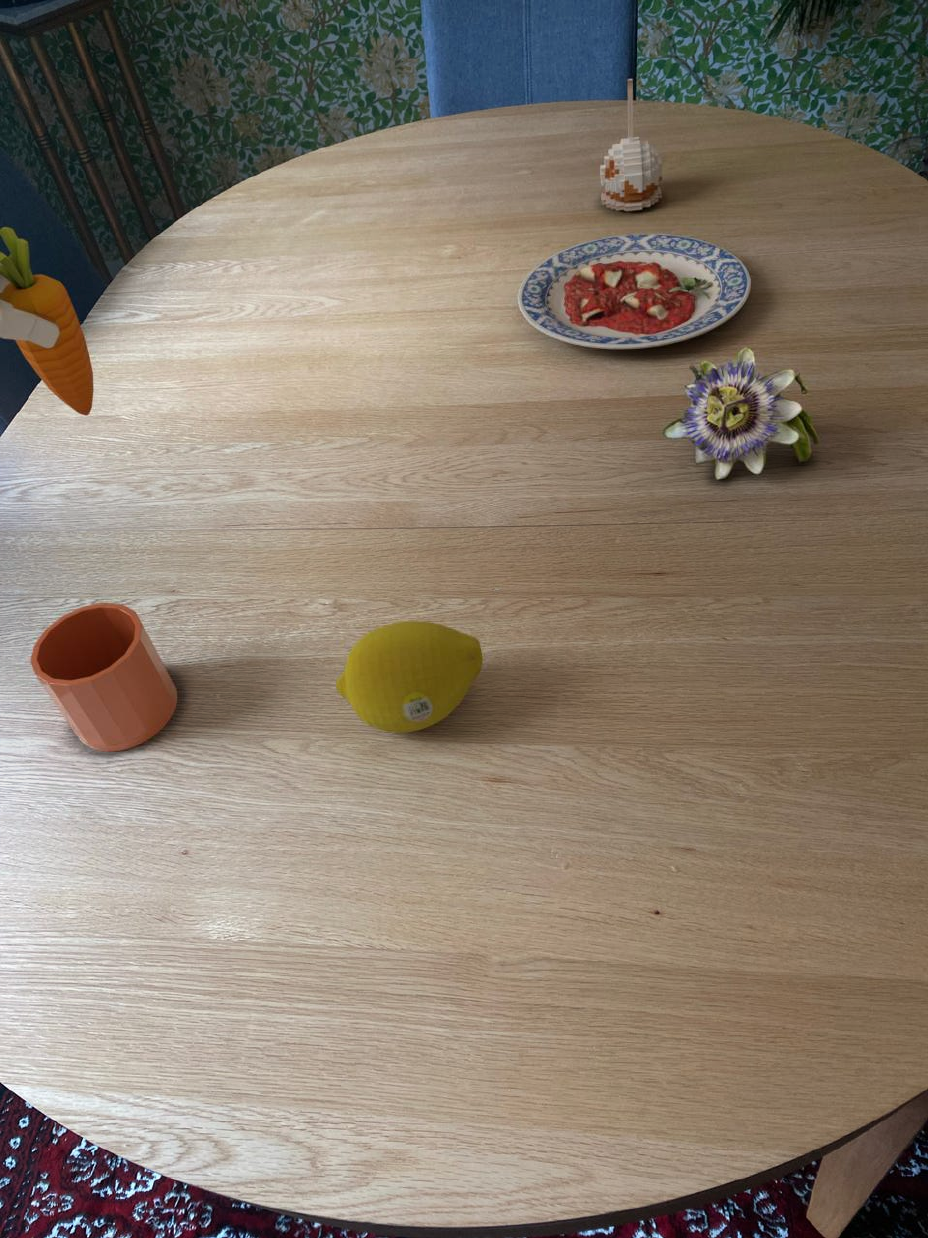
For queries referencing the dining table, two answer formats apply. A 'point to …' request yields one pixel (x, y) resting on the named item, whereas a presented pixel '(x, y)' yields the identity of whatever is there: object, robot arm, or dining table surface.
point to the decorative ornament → (631, 170)
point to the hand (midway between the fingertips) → (50, 318)
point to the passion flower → (742, 415)
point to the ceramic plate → (634, 291)
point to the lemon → (409, 674)
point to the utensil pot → (105, 676)
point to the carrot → (69, 356)
